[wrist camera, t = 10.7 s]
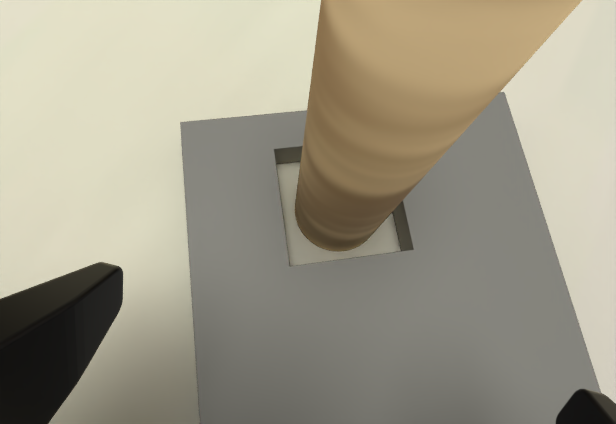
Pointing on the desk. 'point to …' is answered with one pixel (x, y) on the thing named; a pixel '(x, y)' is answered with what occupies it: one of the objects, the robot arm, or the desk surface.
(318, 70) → the tall dowel
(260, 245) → the hole plate
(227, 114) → the desk surface
